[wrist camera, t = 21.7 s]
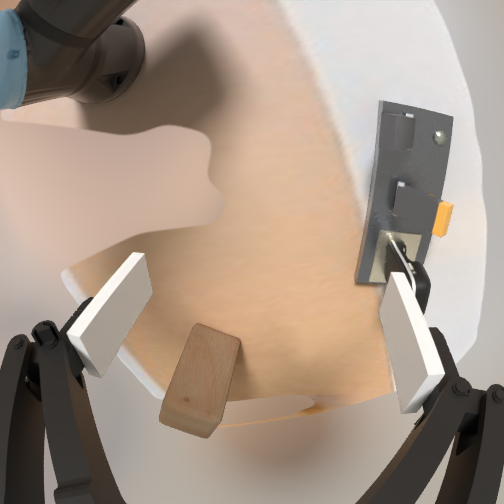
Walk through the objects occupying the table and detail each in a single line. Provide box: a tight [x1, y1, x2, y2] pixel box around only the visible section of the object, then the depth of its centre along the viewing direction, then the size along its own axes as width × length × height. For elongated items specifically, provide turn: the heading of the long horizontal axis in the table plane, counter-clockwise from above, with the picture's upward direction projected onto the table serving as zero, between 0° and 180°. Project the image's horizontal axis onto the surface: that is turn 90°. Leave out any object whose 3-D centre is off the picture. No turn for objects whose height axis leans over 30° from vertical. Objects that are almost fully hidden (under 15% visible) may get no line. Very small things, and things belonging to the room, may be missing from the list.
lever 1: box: [378, 112, 416, 151], centre depth 30 cm, size 2×5×8 cm
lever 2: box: [392, 181, 454, 237], centre depth 34 cm, size 2×5×8 cm
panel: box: [355, 100, 453, 284], centre depth 39 cm, size 11×28×2 cm, turn 0°
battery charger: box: [385, 241, 431, 315], centre depth 37 cm, size 7×4×11 cm, turn 9°
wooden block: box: [159, 324, 240, 438], centre depth 52 cm, size 10×10×20 cm
